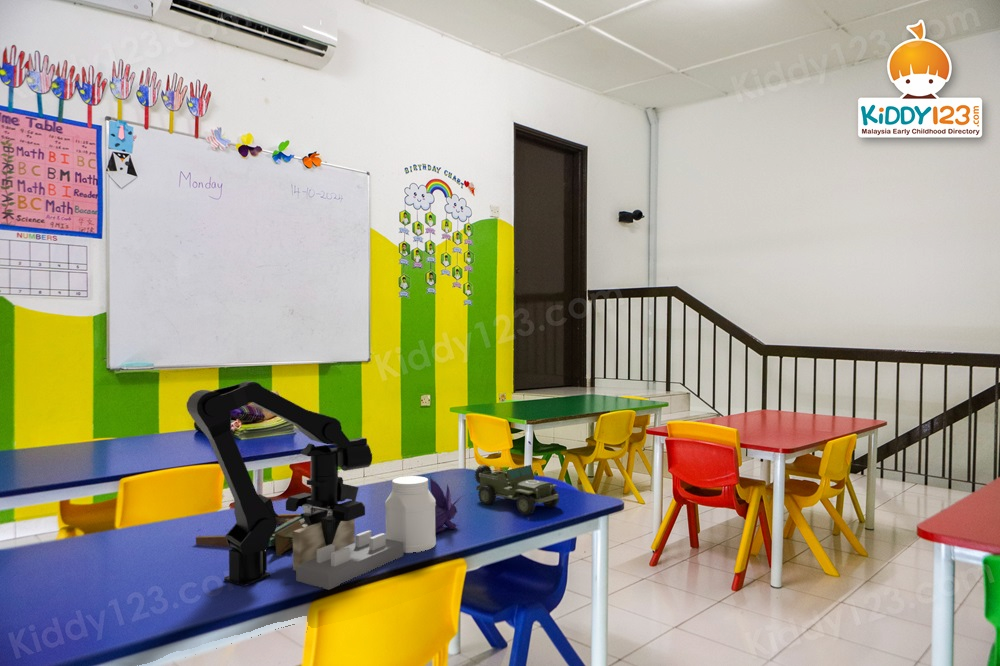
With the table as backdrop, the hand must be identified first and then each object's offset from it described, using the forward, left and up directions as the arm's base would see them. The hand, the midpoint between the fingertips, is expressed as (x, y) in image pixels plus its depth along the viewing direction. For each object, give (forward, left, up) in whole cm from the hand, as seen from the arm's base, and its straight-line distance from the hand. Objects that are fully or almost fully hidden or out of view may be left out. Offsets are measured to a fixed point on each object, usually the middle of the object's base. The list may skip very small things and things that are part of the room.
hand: (325, 546), depth 143 cm
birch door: (0, 0, -3) cm, 3 cm away
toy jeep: (+60, -13, -3) cm, 61 cm away
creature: (+30, -8, -3) cm, 31 cm away
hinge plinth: (-1, -9, -3) cm, 9 cm away
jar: (+17, -10, -3) cm, 20 cm away
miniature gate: (+6, +23, -4) cm, 24 cm away
